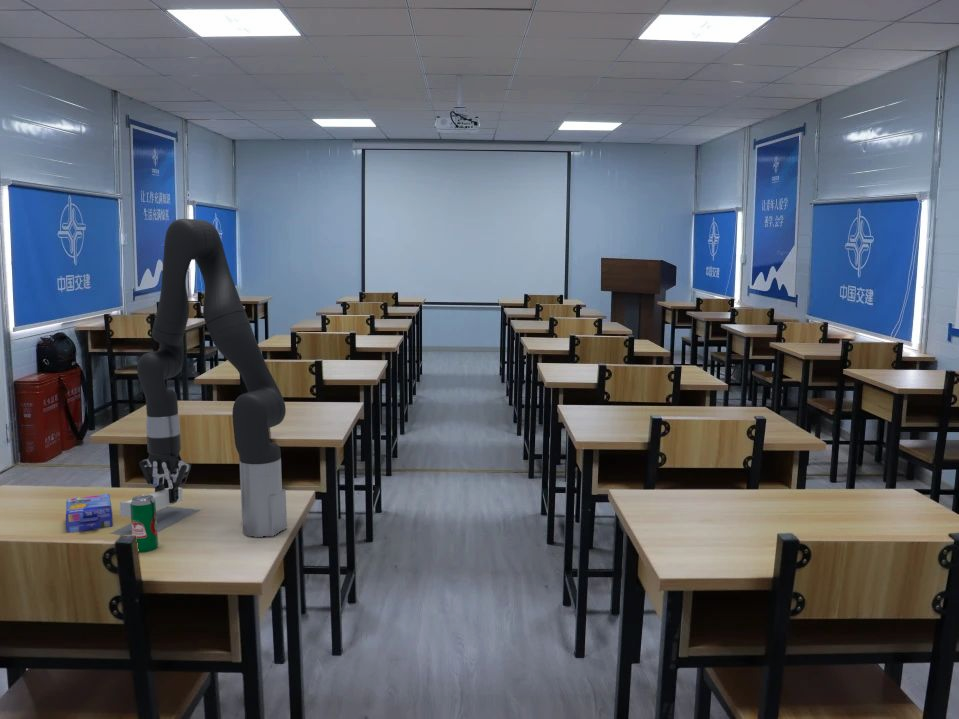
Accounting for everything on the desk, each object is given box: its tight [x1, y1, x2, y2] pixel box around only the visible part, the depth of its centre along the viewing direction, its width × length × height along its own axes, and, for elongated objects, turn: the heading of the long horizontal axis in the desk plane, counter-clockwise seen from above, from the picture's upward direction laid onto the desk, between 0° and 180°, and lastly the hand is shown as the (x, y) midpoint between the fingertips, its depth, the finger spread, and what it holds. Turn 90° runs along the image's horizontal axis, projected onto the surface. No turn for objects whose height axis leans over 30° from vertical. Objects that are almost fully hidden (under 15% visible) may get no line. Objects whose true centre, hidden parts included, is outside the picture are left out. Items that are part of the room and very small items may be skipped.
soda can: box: [130, 494, 159, 553], centre depth 173 cm, size 5×5×12 cm
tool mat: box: [109, 505, 201, 536], centre depth 190 cm, size 10×20×1 cm, turn 163°
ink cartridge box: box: [65, 493, 114, 534], centre depth 189 cm, size 10×6×14 cm
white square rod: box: [119, 486, 183, 518], centre depth 189 cm, size 5×17×3 cm, turn 163°
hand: (167, 501), depth 194 cm, fingers closed on white square rod, 3 cm apart
